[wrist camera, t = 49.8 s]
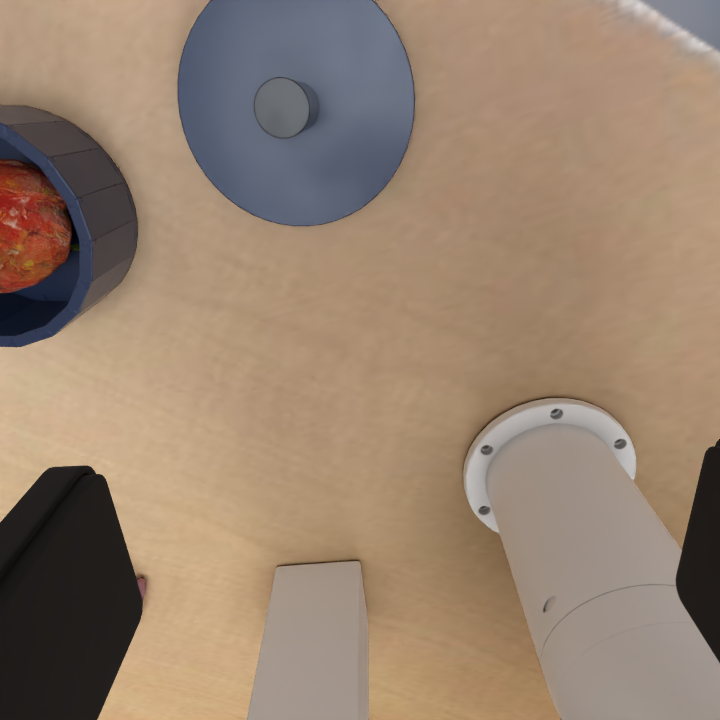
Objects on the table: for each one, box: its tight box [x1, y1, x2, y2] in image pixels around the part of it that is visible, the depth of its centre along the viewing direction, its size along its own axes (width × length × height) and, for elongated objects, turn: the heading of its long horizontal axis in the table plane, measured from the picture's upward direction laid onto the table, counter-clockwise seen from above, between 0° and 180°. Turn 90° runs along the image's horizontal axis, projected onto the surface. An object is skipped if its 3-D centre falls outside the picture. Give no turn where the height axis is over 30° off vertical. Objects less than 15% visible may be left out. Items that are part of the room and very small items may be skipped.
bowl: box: [0, 105, 138, 347], centre depth 32 cm, size 12×13×6 cm
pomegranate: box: [0, 159, 79, 293], centre depth 32 cm, size 7×7×10 cm
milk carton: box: [247, 561, 369, 720], centre depth 40 cm, size 7×7×19 cm
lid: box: [178, 0, 415, 226], centre depth 29 cm, size 13×13×7 cm
